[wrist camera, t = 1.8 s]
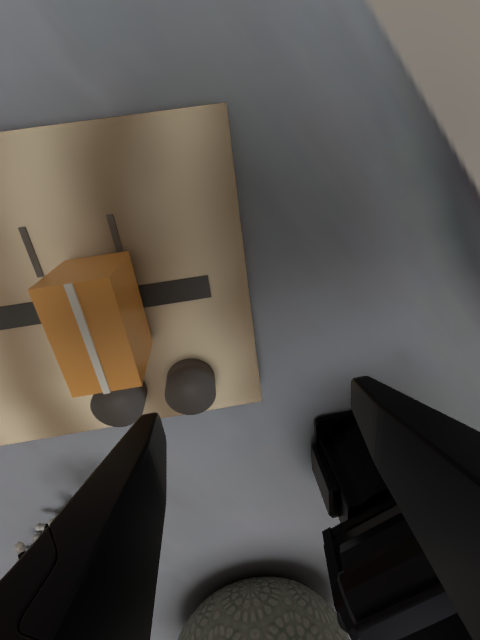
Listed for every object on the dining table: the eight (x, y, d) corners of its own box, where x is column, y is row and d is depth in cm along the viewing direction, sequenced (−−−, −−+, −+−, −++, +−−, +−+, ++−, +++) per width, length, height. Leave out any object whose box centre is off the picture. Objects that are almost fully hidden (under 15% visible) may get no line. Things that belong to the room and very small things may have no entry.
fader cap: (128, 250, 17) (108, 278, 13) (152, 341, 19) (141, 387, 15) (64, 260, 16) (25, 290, 13) (96, 350, 19) (71, 399, 15)
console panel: (223, 108, 17) (229, 97, 13) (257, 382, 24) (266, 417, 20) (-311, 178, 16) (-441, 184, 12) (-110, 443, 22) (-160, 490, 19)
